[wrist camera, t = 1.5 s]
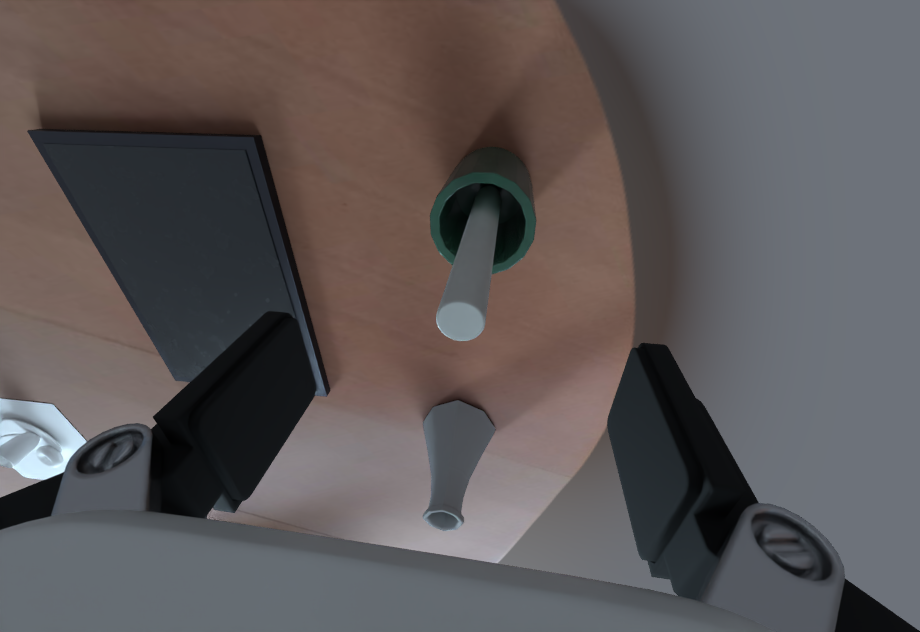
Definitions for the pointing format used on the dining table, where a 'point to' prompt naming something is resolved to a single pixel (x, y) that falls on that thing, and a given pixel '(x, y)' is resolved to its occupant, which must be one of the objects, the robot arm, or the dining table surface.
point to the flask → (453, 458)
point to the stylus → (471, 271)
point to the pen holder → (514, 207)
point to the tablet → (185, 235)
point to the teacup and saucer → (36, 438)
